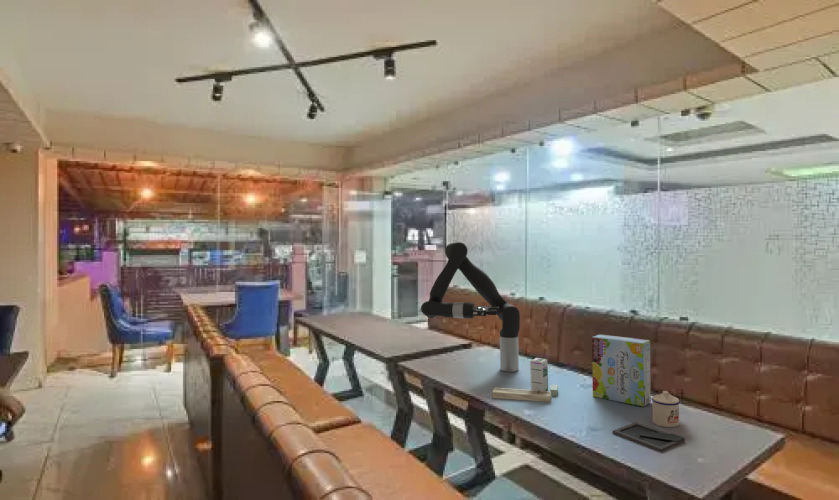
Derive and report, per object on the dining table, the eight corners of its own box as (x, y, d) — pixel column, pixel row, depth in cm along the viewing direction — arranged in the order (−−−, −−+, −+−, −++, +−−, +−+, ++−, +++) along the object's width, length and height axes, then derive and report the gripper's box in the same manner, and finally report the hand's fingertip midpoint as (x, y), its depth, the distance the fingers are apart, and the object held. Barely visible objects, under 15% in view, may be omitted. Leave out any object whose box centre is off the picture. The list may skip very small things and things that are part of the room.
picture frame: (684, 443, 167) (636, 426, 183) (684, 437, 167) (636, 420, 182) (661, 453, 160) (612, 435, 175) (661, 447, 160) (612, 429, 175)
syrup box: (543, 395, 216) (542, 362, 216) (530, 392, 220) (530, 360, 219) (548, 391, 221) (548, 359, 220) (535, 389, 224) (535, 357, 224)
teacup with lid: (671, 430, 177) (671, 397, 176) (646, 422, 184) (646, 391, 184) (688, 421, 184) (688, 390, 184) (663, 414, 191) (663, 384, 191)
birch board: (494, 393, 221) (494, 387, 220) (551, 397, 214) (551, 391, 213) (492, 397, 215) (492, 391, 215) (550, 402, 208) (550, 395, 208)
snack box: (651, 402, 205) (651, 339, 204) (644, 408, 199) (644, 343, 198) (599, 391, 220) (599, 333, 219) (591, 396, 213) (590, 336, 212)
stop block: (550, 390, 223) (550, 384, 223) (557, 390, 222) (557, 385, 222) (550, 395, 216) (550, 389, 216) (557, 395, 215) (557, 390, 215)
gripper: (460, 304, 230) (495, 305, 225) (466, 300, 244) (499, 300, 239) (460, 321, 230) (495, 322, 226) (466, 315, 244) (500, 316, 239)
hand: (497, 311), depth 232 cm, fingers open, 8 cm apart
